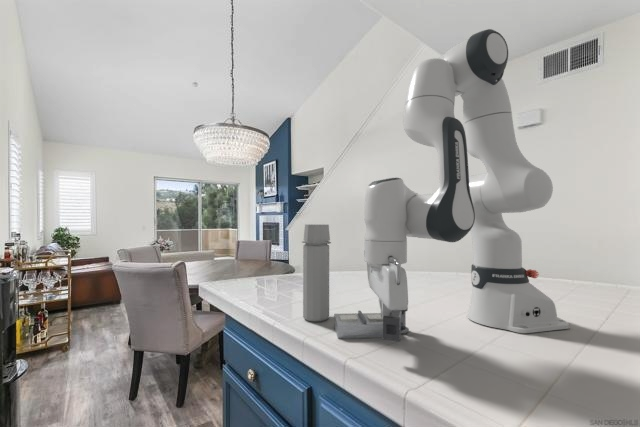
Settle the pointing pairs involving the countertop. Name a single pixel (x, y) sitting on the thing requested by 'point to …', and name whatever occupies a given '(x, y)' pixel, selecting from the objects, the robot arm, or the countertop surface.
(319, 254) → the water bottle
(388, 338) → the bar
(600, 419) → the countertop surface
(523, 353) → the countertop surface
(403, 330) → the grey round knob
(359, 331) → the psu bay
